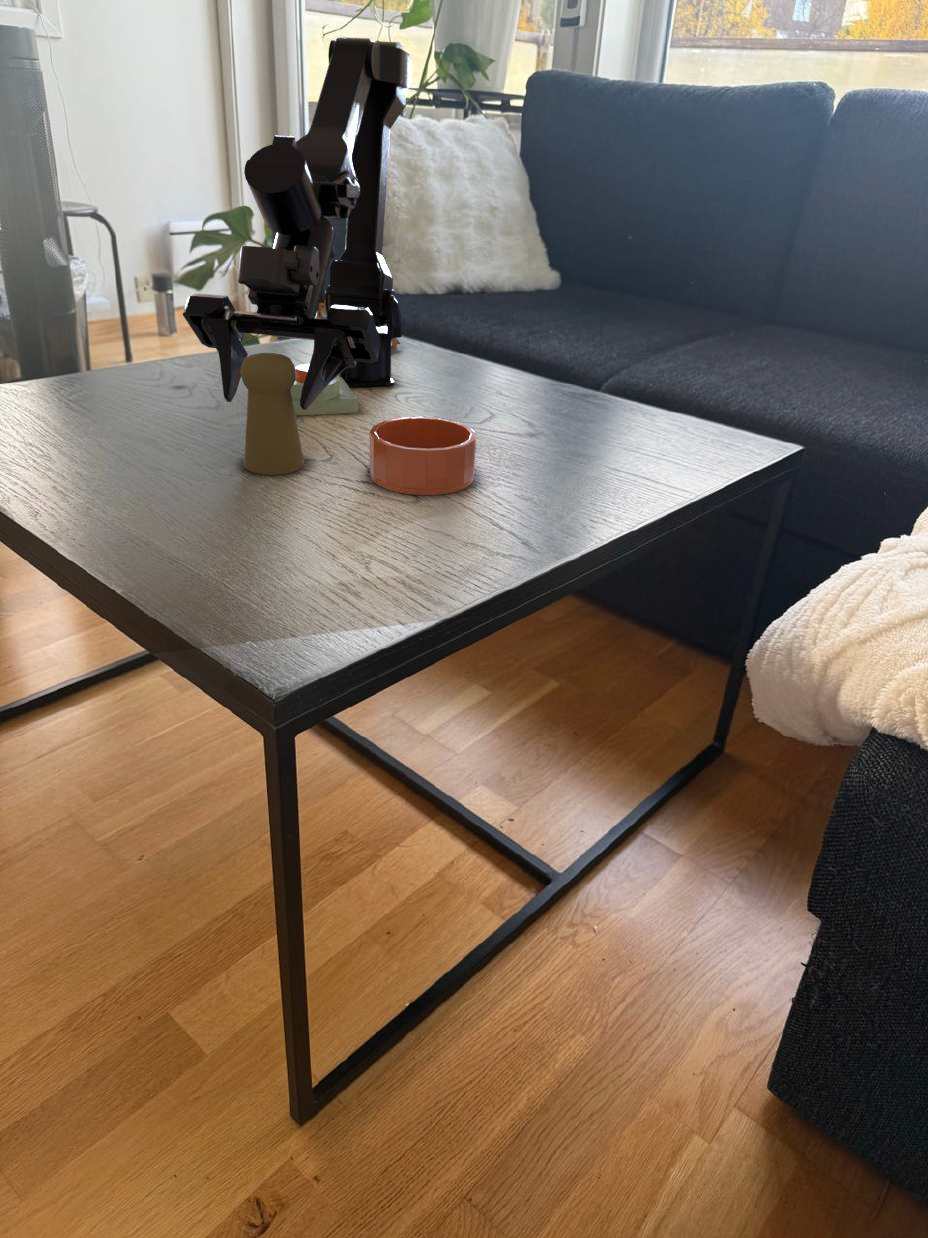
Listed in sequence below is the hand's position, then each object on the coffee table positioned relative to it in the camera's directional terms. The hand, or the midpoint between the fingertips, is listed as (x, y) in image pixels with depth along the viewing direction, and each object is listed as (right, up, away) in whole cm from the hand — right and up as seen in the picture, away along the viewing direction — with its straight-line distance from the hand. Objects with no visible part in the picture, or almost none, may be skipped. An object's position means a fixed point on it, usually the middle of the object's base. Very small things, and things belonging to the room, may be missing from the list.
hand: (264, 403), depth 86 cm
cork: (0, -5, +5) cm, 7 cm away
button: (+1, +8, +20) cm, 22 cm away
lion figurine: (+3, +19, +47) cm, 51 cm away
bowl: (+15, -6, +4) cm, 17 cm away
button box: (0, +6, +24) cm, 24 cm away
